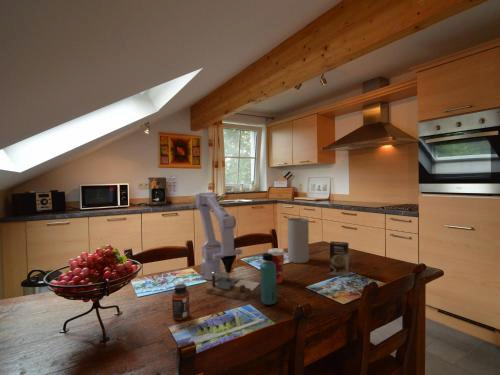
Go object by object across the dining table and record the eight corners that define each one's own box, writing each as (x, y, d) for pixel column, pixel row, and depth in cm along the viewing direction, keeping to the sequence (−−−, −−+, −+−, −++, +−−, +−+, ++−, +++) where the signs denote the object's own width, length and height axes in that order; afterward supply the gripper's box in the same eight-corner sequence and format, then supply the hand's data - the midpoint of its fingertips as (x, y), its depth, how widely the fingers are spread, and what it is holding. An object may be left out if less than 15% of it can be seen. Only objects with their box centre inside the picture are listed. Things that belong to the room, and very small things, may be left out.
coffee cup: (284, 284, 121) (283, 252, 121) (266, 283, 123) (266, 252, 122) (285, 278, 129) (285, 248, 129) (269, 277, 131) (268, 247, 130)
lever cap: (217, 288, 113) (217, 280, 113) (222, 285, 117) (222, 276, 117) (229, 291, 110) (229, 282, 110) (234, 287, 114) (234, 278, 114)
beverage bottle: (272, 310, 98) (271, 257, 97) (257, 305, 101) (256, 255, 101) (280, 302, 103) (279, 253, 103) (265, 299, 107) (264, 251, 106)
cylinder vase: (285, 258, 162) (285, 218, 162) (304, 257, 164) (304, 217, 163) (291, 264, 150) (290, 221, 149) (311, 263, 151) (311, 220, 151)
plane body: (206, 292, 114) (206, 277, 114) (215, 286, 120) (214, 272, 120) (243, 299, 106) (242, 283, 106) (250, 293, 113) (250, 277, 112)
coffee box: (329, 274, 132) (329, 243, 132) (330, 270, 138) (330, 240, 138) (348, 277, 129) (348, 245, 129) (348, 272, 135) (348, 242, 135)
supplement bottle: (190, 319, 92) (189, 288, 92) (172, 322, 90) (171, 290, 90) (189, 311, 98) (188, 281, 97) (172, 314, 96) (171, 283, 96)
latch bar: (210, 275, 116) (209, 272, 116) (212, 273, 118) (212, 271, 117) (227, 278, 112) (227, 275, 112) (230, 276, 114) (230, 273, 114)
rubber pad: (232, 287, 119) (232, 286, 119) (241, 280, 127) (241, 279, 127) (252, 291, 114) (252, 290, 114) (259, 283, 123) (259, 282, 123)
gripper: (217, 246, 110) (218, 278, 111) (245, 241, 119) (246, 271, 119) (210, 243, 116) (210, 273, 116) (237, 239, 124) (237, 267, 125)
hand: (228, 272), depth 118 cm, fingers closed
